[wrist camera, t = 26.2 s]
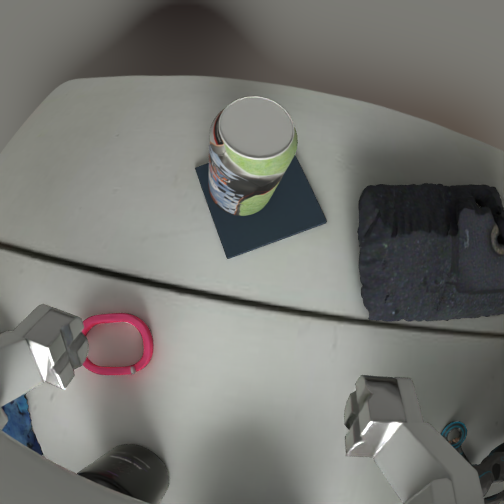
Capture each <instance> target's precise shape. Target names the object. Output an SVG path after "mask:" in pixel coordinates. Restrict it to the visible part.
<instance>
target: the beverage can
mask: <svg viewBox="0 0 504 504" xmlns="http://www.w3.org/2000/svg"><path fill="white" fill-rule="evenodd" d="M297 143H298V142H297V133H296V130H295V127H294V124H293V120H292V118H291V116H290V115H289V113H288V112H287V111H286V110H285V109H284V108H283V107H282V106H281V105H280V104H278V103H277V102H275V101H273V100H270V99H268V98H264V97H258V96H248V97H243V98H240V99H237V100H235V101H233V102H231V103H230V104H229V105H228V106H226V108H224V109H223V110H222V111H221V112H220V113H219V114H218V115H217V116H216V118H215V119H214V121H213V123H212V125H211V129H210V135H209V177H208V188H209V193H210V196H211V198H212V200H213V201H214V203H215V204H216V205H217V206H218V207H219V208H220V209H221V210H223V211H225V212H226V213H229V214H232V215H237V216H246V215H251V214H254V213H256V212H258V211H260V210H261V209H262V208H264V206H265V205H266V204H267V203H268V201H269V200H270V198H271V196H272V194H273V193H274V191H275V189H276V187H277V185H278V184H279V182H280V180H281V178H282V177H283V175H284V173H285V171H286V170H287V168H288V166H289V164H290V163H291V161H292V159H293V157H294V155H295V153H296V150H297Z"/></svg>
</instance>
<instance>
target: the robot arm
mask: <svg viewBox="0 0 504 504" xmlns="http://www.w3.org/2000/svg"><path fill="white" fill-rule="evenodd" d="M83 329H84V325H83V321H82V319H81V318H80V317H78V316H75V315H72V314H70V313H67V312H64V311H62V310H59V309H56V308H53V307H51V306H48V305H45V304H41V305H39V306H38V307H37V308H36V309H34V310H33V311H32V312H31V313H30V314H29V315H28V316H27V317H26V318H25V319H24V320H23V321H22V322H21V323H20V324H19V325H18V326H17V327H16V328H15V329H14V330H13V331H12V332H11V331H6V332H3V333H0V504H150V503H147V502H144V501H141V500H139V499H136V498H133V497H130V496H127V495H125V494H122V493H120V492H117V491H114V490H112V489H109V488H107V487H105V486H102V485H100V484H98V483H95V482H93V481H91V480H89V479H86V478H84V477H82V476H80V475H78V474H76V473H74V472H72V471H70V470H68V469H66V468H64V467H62V466H60V465H58V464H56V463H54V462H53V461H51V460H49V459H47V458H45V457H44V456H42V455H40V454H38V453H37V452H35V451H33V450H32V449H30V448H28V447H27V446H25V445H23V444H22V443H20V442H19V441H17V440H15V439H14V438H12V437H11V436H9V435H8V434H6V433H5V432H3V431H2V429H3V428H4V426H5V425H6V423H7V422H8V417H7V415H6V414H5V412H4V411H3V409H2V408H1V407H2V406H4V405H5V404H7V403H9V402H11V401H12V400H14V399H16V398H18V397H20V396H21V395H23V394H25V393H27V392H28V391H30V390H32V389H34V388H35V387H37V386H39V385H41V384H42V383H44V381H45V382H47V383H49V384H52V385H54V386H56V387H58V388H61V389H63V390H65V389H66V387H67V386H68V384H69V383H70V382H71V380H72V379H73V377H74V376H75V374H74V369H76V368H78V367H81V366H82V365H83V363H84V362H85V360H86V358H87V354H88V346H89V344H88V340H87V338H86V336H85V335H84V334H83V332H82V330H83ZM355 385H356V391H354V392H353V393H351V394H350V396H349V398H348V400H347V402H346V406H345V410H344V425H345V426H346V427H347V428H348V429H349V431H348V433H347V434H346V436H345V449H346V456H353V457H374V458H373V459H374V461H375V462H376V464H377V465H378V467H379V468H380V470H381V471H382V473H383V474H384V476H385V477H386V479H387V480H388V482H389V483H390V485H391V486H392V488H393V489H394V491H395V492H396V494H397V495H398V497H399V498H400V500H401V501H402V502H403V504H485V503H484V498H483V493H482V489H481V484H480V480H479V476H478V472H477V471H476V470H475V469H474V468H473V467H472V466H471V465H470V464H469V463H468V462H467V461H466V460H465V459H464V458H463V457H462V456H461V455H460V454H459V453H458V452H457V451H456V449H455V448H454V447H453V446H452V445H451V444H450V443H449V442H448V441H447V440H446V439H445V438H444V437H443V436H442V435H441V434H440V433H439V432H438V431H437V430H436V429H435V428H434V427H433V426H432V425H431V424H430V423H429V422H424V420H423V416H422V412H421V408H420V405H419V401H418V398H417V394H416V390H415V387H414V384H413V381H412V379H411V378H400V377H394V378H393V377H383V376H369V375H361V376H360V377H359V378H358V380H357V382H356V384H355Z"/></svg>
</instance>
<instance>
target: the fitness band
mask: <svg viewBox="0 0 504 504" xmlns="http://www.w3.org/2000/svg"><path fill="white" fill-rule="evenodd" d="M113 322H128V323H130V324H132V325H133V326H135V327H136V328H137V329H138V330H139V332H140V333H141V336H142V338H143V343H144V352H143V356H142V358H141V359H140V361H138V362H137V363H136V364H134V365H131V366H126V367H100V366H97V365H95V364H93V363H92V362H91V361H90V360H89V359H88V358H86V360H85V362H84V363H83V366H84V367H85V368H87V369H88V370H90V371H92V372H94V373H97V374H101V375H127V374H135V373H136V372H137V371H139V370H141V369H143V368H144V367H145V366H146V365H147V364H148V363H149V362H150V360H151V357H152V354H153V338H152V335H151V332H150V330H149V328H148V326H147V325H146V324H145V323H144V322H143V321H142V320H141V319H139V318H138V317H136V316H134V315H131V314H127V313H111V314H101V315H94V316H91V317H89V318H87V319H85V320H84V321H83V325H84V329H83V330H82V332H83V334H84V335H85V336H86V334H87V333H88V331H89V330H90V329H91V328H92V327H93V326H95V325H97V324H101V323H113Z"/></svg>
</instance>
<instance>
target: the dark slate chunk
mask: <svg viewBox="0 0 504 504" xmlns="http://www.w3.org/2000/svg"><path fill="white" fill-rule="evenodd" d="M475 201H476V202H477V203H478V204H479V205H480V207H481V208H480V207H478V206H477V205H476V203H475ZM357 233H358V240H359V247H360V256H359V270H360V275H361V277H360V279H361V283H362V285H363V286H362V288H361V296H362V298H363V303H364V306H365V307H366V309H367V310H368V311H369V318H368V319H371V320H383V321H399V320H401V319H405V320H406V321H413V320H417V321H422V320H425V321H433V320H446V321H448V320H449V319H455V318H456V319H460V318H476V317H480V316H486V317H488V316H490V315H499V314H504V209H503V206H502V202H501V198H500V195H499V193H498V191H497V190H496V188H495V187H490V186H488V185H456V186H443V185H442V184H437V185H436V184H432V183H429V184H428V183H424V184H421V185H415V184H412V185H384V184H379V185H376V186H374V185H369V186H367V187H366V188H365V189H364V190H363V192H362V194H361V196H360V200H359V227H358V232H357Z"/></svg>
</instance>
